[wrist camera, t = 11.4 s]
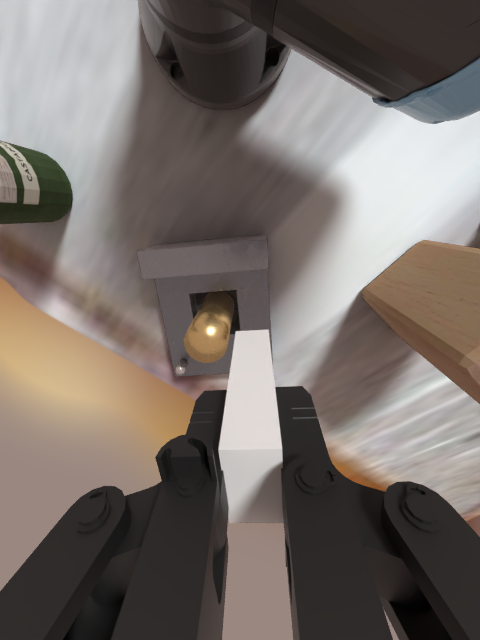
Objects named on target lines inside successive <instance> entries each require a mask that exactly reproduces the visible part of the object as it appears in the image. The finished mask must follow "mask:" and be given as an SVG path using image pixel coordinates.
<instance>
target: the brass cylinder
mask: <svg viewBox="0 0 480 640" xmlns="http://www.w3.org/2000/svg"><path fill="white" fill-rule="evenodd" d="M233 312H234V301H233V299H232V297H231V296H230V295H229V294H228V293H226V292H224V291H216V292H211V293H209V294H208V295H207V296H206V297H205V299H204V301H203V303H202V305H201V306H200V308H199V310H198V312H197V314H196V316H195V318H194V319H193V321H192V323H191V325H190V327H189V329H188V331H187V332H186V334H185V337H184V347H185V350H186V351H187V353H188V354H189V355H190V356H191V357H192V358H193V359H195V360H197V361H199V362H203V363H211V362H215V361H217V360H219V359H220V358H222V357H223V355H224V354H225V352H226V350H227V346H228V340H229V334H230V329H231V323H232V317H233Z"/></svg>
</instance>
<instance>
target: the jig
mask: <svg viewBox="0 0 480 640" xmlns="http://www.w3.org/2000/svg"><path fill="white" fill-rule="evenodd" d="M136 253H137V257H138V261H139V266H140V270H141V275H142V279H153V278H154V279H155V284H156V288H157V293H158V298H159V303H160V307H161V312H162V317H163V321H164V326H165V331H166V335H167V340H168V345H169V350H170V354H171V359H172V364H173V368H174V373H175V377H176V376H192V375H209V374H225V373H230V367H231V360H232V354H233V347H234V340H235V333H236V331H250V330H268V329H269V338H270V347H271V355H272V340H271V322H270V305H269V288H268V270H267V269H268V268H269V262H268V244H267V238H266V237H265V235H254V236H243V237H233V238H222V239H212V240H201V241H191V242H181V243H170V244H160V245H155V246H152V247H149V248H146V249H143V250H140V251H138V252H136ZM228 290H236V292H237V302H238V311H239V321H240V324H231V329H230V334H229V340H228V346H227V350H226V352H225V354H224V355H223V357H222V358H220V359H219V360H217V361H215V362H211V363H203V362H199V361H197V360H195V359H193V358H192V357H191V356H190V355H189V354H188V353H187V351H186V350H185V347H184V337H185V334H186V332H187V331H188V329H189V327H190V325H191V323H192V321H193V319H194V318H195V316H196V314H197V312H198V306H197V300H196V293H204V292H216V291H228ZM272 364H273V357H272Z"/></svg>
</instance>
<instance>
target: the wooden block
mask: <svg viewBox="0 0 480 640" xmlns="http://www.w3.org/2000/svg"><path fill="white" fill-rule="evenodd" d="M362 296H363V299H364V300H365V301H366V302H367V303H368V304H369V305H370V306H371V307H372V308H373V309H374V310H375V312H376V313H377V314H378V315H379V316H380V317H381V318H382V319H383V320H384V321H385V322H386V323H387V324H388V325H389V326H390V327H391V328H392V330H393V331H394V332H395V333H396V334H397V335H398V336H399V337H400V338H401V339H403V340H404V341H405V342H406V343H407V344H409V345H410V346H411V347H412V348H413V349H415V350H416V351H417V352H418V353H419V354H421V355H422V356H423V357H424V358H425V359H427V360H428V361H429V362H430V363H431V364H433V365H434V366H435V367H436V368H437V369H438V370H440V371H441V372H442V373H443V374H444V375H446V376H447V377H448V378H449V379H450V380H452V381H453V382H454V383H455V384H456V385H458V386H459V387H460V388H461V389H462V390H464V391H465V392H466V393H467V394H468V395H470V396H471V397H472V398H473V399H474V400H475V401H477V402H478V403H479V404H480V249H479V248H472V247H466V246H460V245H453V244H447V243H441V242H434V241H428V240H423V241H421V242H418V243H416V244H415V245H414V246H413V247H412V248H411V249H409V250H408V251H407V252H406V253H405V254H404V255H402V256H401V257H400V258H399V259H398V260H397V261H395V262H394V263H393V264H392V265H391V266H390V267H388V268H387V269H386V270H385V271H384V272H383V273H382V274H380V275H379V276H378V277H377V278H376V279H375V280H373V281H372V282H371V283H370V284H369V285H368V286H366V287H365V288H364V289H363V291H362Z"/></svg>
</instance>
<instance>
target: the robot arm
mask: <svg viewBox="0 0 480 640" xmlns="http://www.w3.org/2000/svg"><path fill="white" fill-rule="evenodd" d="M138 6H139V13H140V18H141V23H142V27H143V30H144V34H145V37H146V40H147V42H148V45H149V48H150V50H151V52H152V54H153V56H154V58H155V60H156V62H157V63H158V65H159V66H160V68H161V70H162V71H163V73H164V75H165V76H166V77H167V79H168V80H169V81H170V83H171V84H172V85H173V86H174V87H175V88H176V89H177V90H178V91H179V92H180V93H181V94H182V95H183V96H185V97H186V98H187V99H189V100H190V101H192V102H194V103H196V104H198V105H200V106H203V107H206V108H210V109H216V110H228V109H234V108H238V107H241V106H244V105H246V104H248V103H250V102H252V101H254V100H255V99H257V98H258V97H259V96H261V95H262V94H263V93H264V92H265V91H266V90H267V89H268V88H269V87H270V86H271V85H272V84H273V83H274V81H275V80H276V79H277V77H278V76H279V74H280V72H281V71H282V69H283V67H284V65H285V63H286V61H287V59H288V57H289V54H290V51H291V49H293V50H295V51H296V52H298V53H300V54H301V55H303V56H305V57H306V58H308V59H310V60H311V61H313V62H315V63H316V64H318V65H320V66H321V67H323V68H325V69H326V70H328V71H330V72H331V73H333V74H335V75H336V76H338V77H340V78H341V79H343V80H345V81H346V82H348V83H350V84H351V85H353V86H355V87H356V88H358V89H360V90H361V91H363V92H364V93H366V94H368V95H369V96H371V97H372V99H373V102H375V103H376V104H378V105H379V106H382V107H393V108H395V109H397V110H399V111H401V112H403V113H405V114H407V115H409V116H411V117H413V118H414V119H416V120H418V121H421V122H424V123H431V124H437V123H441V122H444V121H450V120H458V119H461V118H464V117H466V116H469V115H471V114H473V113H476V112H478V111H480V0H138ZM156 461H157V465H158V468H159V472H160V476H161V479H162V481H161V482H160V483H158V484H157V485H155V486H153V487H150V488H148V489H145V490H142V491H139V492H136V493H133V494H130V495H127V496H124V494H123V492H122V490H120V489H118V488H117V487H115V486H103V487H100V488H97V489H94V490H92V491H90V492H88V493H87V494H85V495H83V496H82V497H80V499H78V500H77V501H76V502H75V503H74V504H73V505H72V506H71V507H70V508H69V510H68V511H67V512H66V513H65V515H63V517H62V518H61V519H60V520H59V522H58V523H57V524H56V525H55V526H54V528H53V529H52V530H51V531H50V532H49V534H48V535H47V536H46V537H45V538H44V540H43V541H42V542H41V543H40V544H39V546H38V547H37V548H36V549H35V550H34V552H33V553H32V554H31V555H30V556H29V558H28V559H27V560H26V561H25V563H24V564H23V565H22V566H21V567H20V569H19V570H18V571H17V572H16V573H15V574H14V576H13V577H12V578H11V579H10V580H9V582H8V583H7V584H6V585H5V586H4V588H3V589H2V590H1V591H0V640H222V630H223V617H224V616H223V615H224V603H225V589H226V575H227V562H228V539H227V523H228V516H229V523H284V528H285V529H284V530H285V547H286V548H285V549H286V566H287V572H288V584H289V595H290V606H291V617H292V629H293V640H393V639H392V635H391V632H390V629H389V626H388V623H387V620H386V616H385V613H384V610H385V612H386V614H387V616H388V618H389V620H390V622H391V624H392V626H393V628H394V630H395V632H396V634H397V636H398V638H399V640H480V537H479V536H478V535H477V534H476V533H475V531H474V530H473V529H472V528H471V527H470V526H469V525H468V524H467V523H466V521H465V520H464V519H463V518H462V517H461V516H460V515H459V514H458V513H457V511H456V510H455V509H454V508H453V507H452V506H451V505H450V504H449V503H448V502H447V501H446V500H445V499H443V498H442V497H441V496H440V495H439V494H438V493H436V492H434V491H433V490H431V489H429V488H427V487H425V486H423V485H420V484H417V483H413V482H409V481H408V482H396V483H394V484H393V485H391V486H389V487H388V488H387V490H386V492H384V491H380V490H377V489H374V488H370V487H367V486H363V485H360V484H358V483H355V482H353V481H351V480H349V479H348V478H346V477H345V476H343V475H342V474H341V473H340V472H339V471H338V470H337V469H336V468H335V466H334V465H333V464H332V462H331V460H330V457H329V454H328V451H327V448H326V444H325V441H324V438H323V434H322V431H321V428H320V424H319V421H318V419H317V414H316V411H315V409H314V404H313V401H312V397H311V395H310V394H309V393H308V392H307V391H306V390H305V389H304V388H303V387H302V386H295V387H275V381H274V373H273V364H272V355H271V347H270V338H269V329H268V330H250V331H236V333H235V340H234V347H233V354H232V360H231V367H230V374H229V381H228V388H227V390H214V391H204V392H203V393H202V394H201V395H200V397H199V398H198V399H197V400H196V402H195V406H194V409H193V414H192V416H191V419H190V423H189V426H188V429H187V433H186V435H181V436H178V437H176V438H174V439H172V440H170V441H169V442H167V443H166V444H165V445H164V446H163V447H162V448H161V449H160V451H159V452H158V454H157V456H156ZM382 606H383V607H382ZM383 608H384V610H383Z"/></svg>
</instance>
